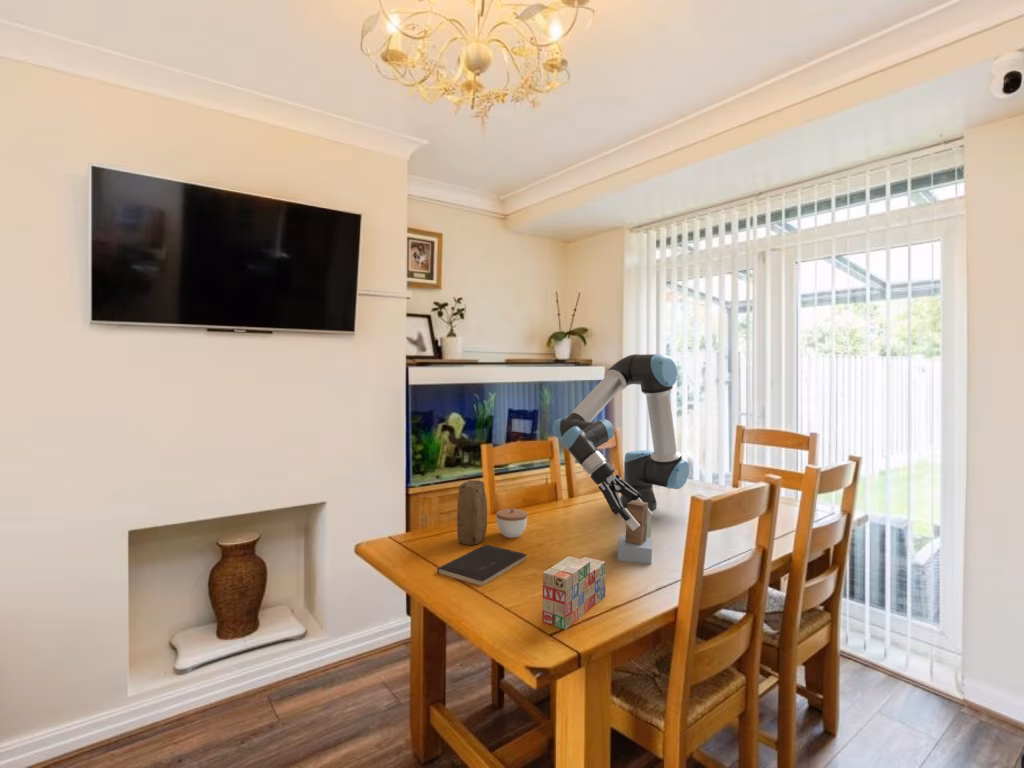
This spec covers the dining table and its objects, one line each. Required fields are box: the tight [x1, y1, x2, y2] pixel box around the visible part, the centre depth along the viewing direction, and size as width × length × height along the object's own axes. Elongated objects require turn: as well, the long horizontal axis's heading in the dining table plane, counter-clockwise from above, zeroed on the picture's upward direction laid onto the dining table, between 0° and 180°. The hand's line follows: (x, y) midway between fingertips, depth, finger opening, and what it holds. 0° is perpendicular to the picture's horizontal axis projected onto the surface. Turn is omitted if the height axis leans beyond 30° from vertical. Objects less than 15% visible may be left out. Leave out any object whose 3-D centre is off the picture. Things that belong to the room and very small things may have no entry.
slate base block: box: [617, 534, 653, 565], centre depth 167 cm, size 10×10×5 cm
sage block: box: [646, 515, 652, 538], centre depth 180 cm, size 5×5×9 cm
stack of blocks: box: [541, 556, 607, 630], centre depth 131 cm, size 21×6×12 cm, turn 145°
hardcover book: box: [437, 544, 528, 587], centre depth 158 cm, size 16×23×2 cm
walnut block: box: [625, 500, 648, 545], centre depth 166 cm, size 5×5×12 cm
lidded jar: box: [495, 507, 528, 539], centre depth 185 cm, size 11×11×9 cm
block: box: [456, 479, 488, 546], centre depth 179 cm, size 11×8×20 cm
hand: (643, 522), depth 165 cm, fingers open, 13 cm apart
